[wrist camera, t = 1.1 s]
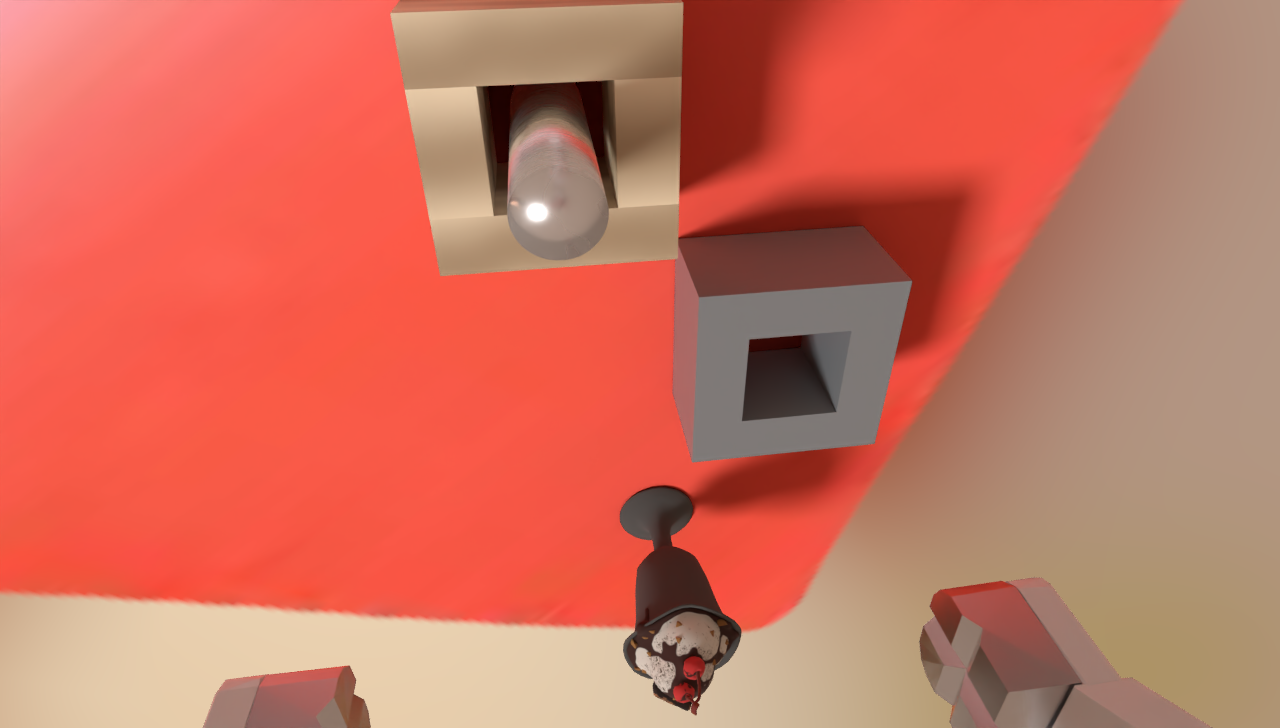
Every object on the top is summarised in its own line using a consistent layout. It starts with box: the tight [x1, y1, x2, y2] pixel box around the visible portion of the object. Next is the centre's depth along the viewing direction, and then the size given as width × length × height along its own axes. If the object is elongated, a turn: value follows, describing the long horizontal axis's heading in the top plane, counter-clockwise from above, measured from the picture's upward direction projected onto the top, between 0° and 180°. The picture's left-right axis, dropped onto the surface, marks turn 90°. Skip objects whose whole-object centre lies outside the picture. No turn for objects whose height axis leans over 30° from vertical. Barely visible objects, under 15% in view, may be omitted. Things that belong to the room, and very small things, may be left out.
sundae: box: [620, 487, 741, 715], centre depth 43 cm, size 7×7×15 cm
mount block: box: [390, 0, 683, 276], centre depth 31 cm, size 10×10×6 cm
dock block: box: [673, 226, 912, 462], centre depth 39 cm, size 10×10×6 cm
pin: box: [507, 82, 609, 260], centre depth 28 cm, size 3×3×12 cm
